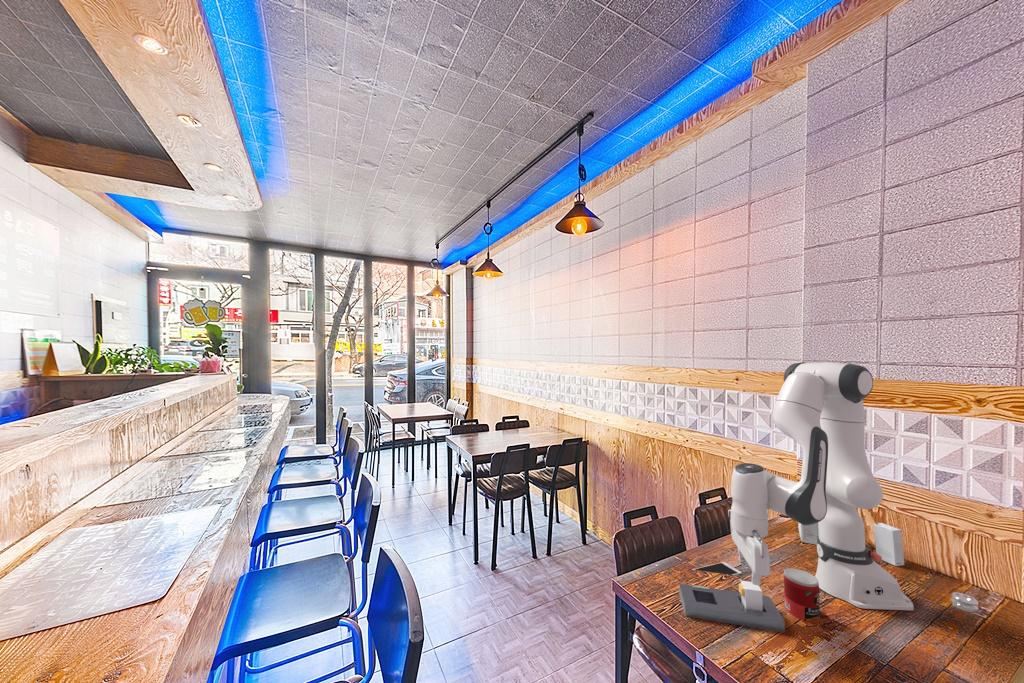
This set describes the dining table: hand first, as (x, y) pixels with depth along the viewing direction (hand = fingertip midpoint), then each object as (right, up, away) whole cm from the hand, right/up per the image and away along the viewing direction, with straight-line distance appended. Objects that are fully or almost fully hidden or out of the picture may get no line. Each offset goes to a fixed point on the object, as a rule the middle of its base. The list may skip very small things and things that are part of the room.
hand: (749, 573), depth 105 cm
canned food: (+15, -13, +1) cm, 20 cm away
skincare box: (+68, -13, +28) cm, 74 cm away
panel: (-5, -13, +1) cm, 14 cm away
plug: (+1, -11, 0) cm, 11 cm away
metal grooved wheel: (+65, -12, +4) cm, 66 cm away
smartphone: (+3, -14, +22) cm, 26 cm away
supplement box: (+56, -14, +44) cm, 72 cm away
